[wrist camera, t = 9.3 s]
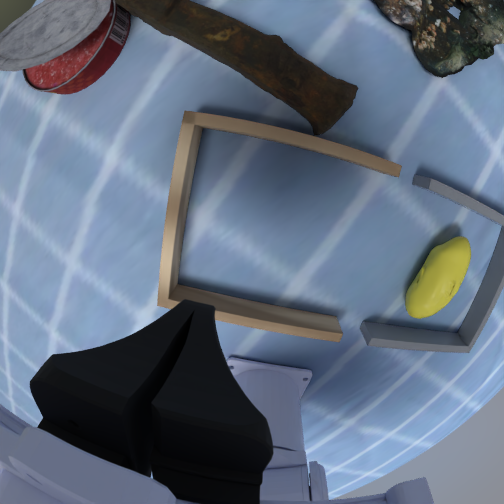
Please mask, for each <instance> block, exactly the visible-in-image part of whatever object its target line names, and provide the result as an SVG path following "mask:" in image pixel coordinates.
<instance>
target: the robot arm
mask: <svg viewBox="0 0 504 504" xmlns="http://www.w3.org/2000/svg"><path fill="white" fill-rule="evenodd" d="M215 310H216V308H215V307H214V306H213V305H209V304H204V303H200V302H196V301H192V300H187V299H184V300H182V301H181V302H180V303H178V304H177V305H176V306H175V307H174V308H172V309H171V310H170V311H168V312H167V313H166V314H164V315H163V316H161V317H160V318H159V319H157V320H156V321H154V322H153V323H151V324H149V325H148V326H146V327H144V328H143V329H141V330H139V331H137V332H136V333H134V334H132V335H130V336H127V337H125V338H123V339H120V340H117V341H115V342H112V343H109V344H106V345H103V346H100V347H96V348H92V349H88V350H83V351H78V352H71V353H63V354H53V355H52V356H51V357H50V358H49V359H48V360H47V361H46V362H45V363H44V364H43V366H42V367H41V368H40V369H39V371H38V372H37V373H36V374H35V376H34V377H33V378H32V380H31V381H30V390H31V393H32V396H33V398H34V400H35V402H36V404H37V406H38V408H39V410H40V412H41V414H42V416H43V419H42V421H41V422H40V424H39V425H38V427H33V426H31V425H29V424H28V423H26V422H25V421H23V420H22V419H20V418H19V417H17V416H16V415H14V414H13V413H12V412H10V411H9V410H7V409H6V408H5V407H3V406H2V405H1V404H0V504H434V502H433V499H432V495H431V492H430V489H429V486H428V483H427V480H426V478H425V477H423V478H419V479H415V480H410V481H406V482H403V483H399V484H397V485H395V486H393V487H392V488H390V489H389V490H388V491H387V492H386V493H383V494H377V495H371V496H364V497H356V498H347V499H337V500H329V499H328V489H327V481H326V475H325V470H324V467H323V466H322V465H320V464H318V463H317V461H312V462H309V467H310V473H309V478H310V486H309V478H308V468H307V459H306V452H305V448H304V438H303V428H302V418H301V409H300V399H301V397H302V395H303V393H304V391H305V390H306V388H307V386H308V384H309V382H310V380H311V378H312V375H313V374H312V371H311V370H307V369H300V368H293V367H286V366H279V365H273V364H267V363H261V362H255V361H250V360H244V359H239V358H234V357H231V358H228V360H227V362H226V360H225V357H224V355H223V352H222V349H221V346H220V343H219V339H218V335H217V330H216V324H215ZM230 366H234V367H230ZM151 472H152V475H153V479H152V478H150V477H151Z"/></svg>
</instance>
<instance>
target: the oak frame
mask: <svg viewBox="0 0 504 504" xmlns="http://www.w3.org/2000/svg"><path fill="white" fill-rule="evenodd" d="M203 128H207V129H213V130H219V131H225V132H230V133H235V134H241V135H246V136H251V137H255V138H260V139H265V140H269V141H274V142H278V143H282V144H286V145H290V146H294V147H298V148H302V149H306V150H310V151H313V152H317V153H321V154H324V155H328V156H331V157H334V158H338V159H341V160H344V161H347V162H351V163H354V164H357V165H360V166H363V167H366V168H369V169H372V170H375V171H378V172H380V173H383V174H387V175H391V176H396V177H399V175H400V171H401V167H402V166H401V165H399V164H396V163H393V162H391V161H388V160H386V159H383V158H380V157H377V156H375V155H372V154H369V153H366V152H363V151H360V150H357V149H354V148H351V147H348V146H345V145H342V144H339V143H335V142H332V141H329V140H325V139H322V138H318V137H315V136H311V135H308V134H304V133H300V132H296V131H292V130H288V129H284V128H280V127H275V126H271V125H267V124H262V123H257V122H252V121H247V120H242V119H237V118H231V117H225V116H219V115H213V114H206V113H199V112H192V111H184V116H183V120H182V125H181V130H180V135H179V140H178V145H177V150H176V155H175V161H174V166H173V172H172V178H171V184H170V191H169V197H168V204H167V211H166V219H165V227H164V235H163V244H162V253H161V264H160V275H159V288H158V303H157V306H161V307H164V308H168V309H172V308H174V307H175V306H176V305H177V304H178V303H180V302H181V301H182V300H184V299H187V300H192V301H196V302H200V303H204V304H209V305H213V306H214V307H215V308H216V310H215V320H218V321H223V322H227V323H232V324H237V325H242V326H246V327H251V328H257V329H262V330H267V331H272V332H278V333H284V334H289V335H295V336H301V337H308V338H314V339H321V340H327V341H335V342H340V340H341V338H342V335H343V332H342V330H341V327H340V325H339V322H338V319H337V317H336V316H330V315H324V314H318V313H313V312H307V311H302V310H296V309H291V308H286V307H281V306H276V305H271V304H266V303H261V302H256V301H251V300H246V299H241V298H237V297H232V296H228V295H223V294H218V293H214V292H210V291H205V290H201V289H197V288H192V287H188V286H184V285H180V284H177V283H178V275H179V266H180V258H181V251H182V243H183V236H184V229H185V223H186V216H187V210H188V204H189V198H190V192H191V186H192V180H193V175H194V169H195V164H196V159H197V154H198V149H199V144H200V139H201V134H202V130H203Z"/></svg>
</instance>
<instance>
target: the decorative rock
mask: <svg viewBox="0 0 504 504" xmlns="http://www.w3.org/2000/svg"><path fill="white" fill-rule="evenodd" d="M374 1H375V2H376V3H377V5H378V6H379V8H380V9H381V11H382V12H383V13H384V14H385V15H386V16H388V17H389V18H390V19H391V20H392V21H394V22H395V23H397V24H398V25H401V26H403V27H405V28H406V29H408V30H411V31H412V41H413V44H414V51H415V52H416V54H417V57H418V58H419V60H420V61H421V63H422V64H423V65H424V67H425V68H426V69H427V70H428V71H429V72H431V73H432V74H433V75H435V76H438V77H442V78H443V77H446V76H448V75H451V74H456V73H458V72H460V71H462V69H463V68H464V66H466V65H472V64H473V63H474V62H475V61H476V60H477V59H478V58H480V59H487V58H489V57H490V56H492V55H493V54H494V46H495V45H496V44H504V0H374ZM453 6H454V7H456V8H457V9H459V10H460V11H461V12H460V16H459V20H458V19H457V18H455V17H454V16H453V15H452V14H451V13H449V12H448V11H447V10H449V9H450V8H449V7H453ZM446 9H447V10H446Z"/></svg>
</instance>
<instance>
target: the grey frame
mask: <svg viewBox="0 0 504 504" xmlns="http://www.w3.org/2000/svg"><path fill="white" fill-rule="evenodd" d="M412 185H415V186H417V187H420V188H422V189H425V190H427V191H429V192H432V193H434V194H437V195H439V196H441V197H443V198H446V199H448V200H450V201H452V202H454V203H457V204H459V205H461V206H463V207H465V208H467V209H469V210H471V211H473V212H475V213H477V214H479V215H481V216H483V217H485V218H487V219H489V220H491V221H493V222H495V223H496V224H498V225H500V226H502V229H501V232H500V236H499V239H498V242H497V245H496V248H495V251H494V253H493V256H492V259H491V261H490V264H489V267H488V269H487V272H486V274H485V277H484V279H483V281H482V284H481V286H480V288H479V291H478V293H477V295H476V297H475V299H474V301H473V304H472V306H471V308H470V310H469V312H468V314H467V316H466V318H465V320H464V322H463V323H462V325H461V327H460V329H459V331H458V333H451V332H442V331H433V330H425V329H417V328H409V327H402V326H394V325H387V324H380V323H374V322H367V321H363V323H362V325H361V327H360V330H361V332H362V334H363V336H364V338H365V341H366V343H367V345H368V346H375V347H385V348H395V349H407V350H420V351H435V352H456V353H469V352H470V350H471V349H472V347H473V345H474V344H475V342H476V340H477V338H478V337H479V335H480V333H481V331H482V330H483V328H484V326H485V324H486V322H487V320H488V318H489V316H490V314H491V312H492V310H493V308H494V306H495V304H496V302H497V300H498V298H499V296H500V293H501V291H502V289H503V286H504V216H503V215H502V214H500V213H498V212H497V211H495V210H493V209H491V208H490V207H488V206H486V205H484V204H482V203H480V202H479V201H477V200H475V199H473V198H471V197H469V196H467V195H465V194H463V193H461V192H459V191H457V190H455V189H453V188H451V187H449V186H447V185H445V184H443V183H441V182H438V181H436V180H434V179H432V178H428V177H423V176H419V175H415V176H414V180H413V183H412Z"/></svg>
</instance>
